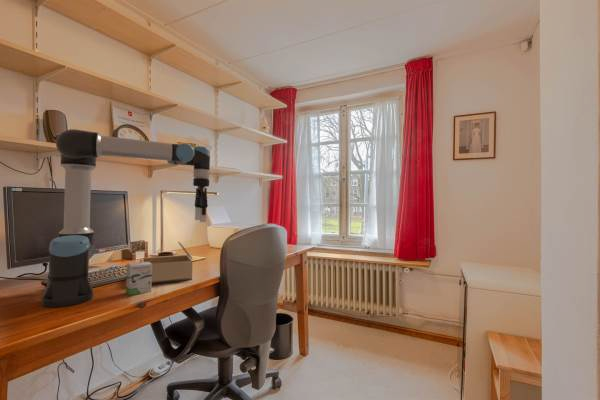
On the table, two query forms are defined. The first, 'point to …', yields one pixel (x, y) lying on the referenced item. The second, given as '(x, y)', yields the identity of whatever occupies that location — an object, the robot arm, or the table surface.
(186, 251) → the flap
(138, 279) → the ink box
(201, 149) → the robot arm
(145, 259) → the carton
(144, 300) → the table surface
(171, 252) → the mug
